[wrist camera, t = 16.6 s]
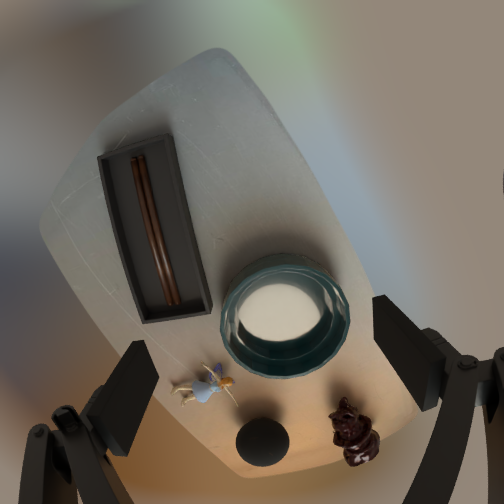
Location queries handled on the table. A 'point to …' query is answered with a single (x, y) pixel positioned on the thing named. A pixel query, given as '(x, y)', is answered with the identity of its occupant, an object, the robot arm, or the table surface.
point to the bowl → (284, 317)
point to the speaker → (262, 442)
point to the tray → (134, 233)
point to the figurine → (354, 434)
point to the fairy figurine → (206, 387)
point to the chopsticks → (157, 230)
